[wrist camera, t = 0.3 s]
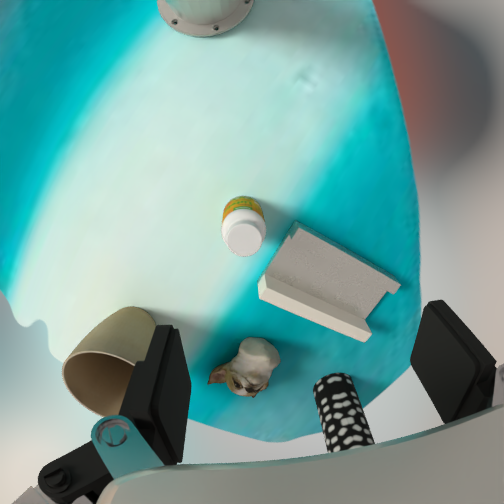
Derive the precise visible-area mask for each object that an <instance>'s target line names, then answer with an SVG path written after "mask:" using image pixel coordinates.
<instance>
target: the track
mask: <svg viewBox="0 0 504 504" xmlns="http://www.w3.org/2000/svg"><path fill="white" fill-rule="evenodd" d="M257 283H258V291H259V298H260V299H262V300H264V301H266V302H269V303H271V304H273V305H276V306H278V307H280V308H283V309H285V310H287V311H290V312H292V313H294V314H297V315H299V316H301V317H304V318H306V319H308V320H311V321H313V322H316V323H318V324H320V325H323V326H325V327H328V328H330V329H332V330H335V331H337V332H340V333H342V334H345V335H347V336H350V337H352V338H354V339H357V340H359V341H362V342H364V343H365V342H366V340H367V339H368V338H369V337H370V336H371V335H372V333H371V331H370V329H369V327H368V325H367V323H366V322H365V318H366V317H367V316H368V315H369V313H370V312H371V311H372V310H373V308H374V307H375V306H376V305H377V303H378V302H379V301H380V299H381V298H382V297H383V295H384V294H385V293H386V291H388V292H390V293H392V294H394V293H395V292H396V291H397V289H398V288H399V287H400V285H401V284H400V283H399V282H398V280H397V279H396V278H395V277H394V276H393V275H392V274H390V273H388V272H387V271H385V270H383V269H381V268H380V267H378V266H376V265H375V264H373V263H371V262H369V261H368V260H366V259H364V258H362V257H361V256H359V255H357V254H355V253H354V252H352V251H350V250H348V249H347V248H345V247H343V246H341V245H340V244H338V243H336V242H334V241H332V240H331V239H329V238H327V237H325V236H323V235H322V234H320V233H318V232H316V231H314V230H313V229H311V228H309V227H307V226H305V225H303V224H302V223H300V222H298V221H296V220H295V221H294V223H293V225H292V226H291V228H290V229H289V231H288V233H287V234H286V236H285V237H284V239H283V241H282V242H281V244H280V245H279V247H278V249H277V250H276V252H275V253H274V255H273V257H272V258H271V260H270V261H269V263H268V265H267V266H266V268H265V269H264V271H263V272H262V274H261V276H260V277H259V279H258V280H257Z"/></svg>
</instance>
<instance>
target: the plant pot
mask: <svg viewBox="0 0 504 504" xmlns="http://www.w3.org/2000/svg"><path fill="white" fill-rule="evenodd" d="M155 327H156V325H155V322H154V320H153V318H152V317H151V316H150V315H149V314H148V313H147V312H146V311H144V310H142V309H140V308H137V307H125V308H122V309H120V310H118V311H117V312H115V313H114V314H112V315H110V316H109V317H108V318H106V319H105V320H104V321H102V322H101V323H100V324H99V325H97V326H96V327H95V328H94V329H93V330H92V331H91V332H90V333H89V334H88V335H87V336H86V337H85V338H84V339H83V340H82V341H81V342H80V343H79V344H78V346H77V347H76V348H75V349H74V350H73V352H72V353H71V354H70V355H69V357H68V358H67V359H66V360H65V362H64V364H63V367H62V376H63V381H64V383H65V385H66V387H67V389H68V390H69V392H70V393H71V394H72V396H73V397H74V398H75V399H76V400H77V401H78V402H79V403H80V404H82V405H83V406H84V407H86V408H87V409H88V410H90V411H92V412H93V413H95V414H97V415H100V416H102V417H107V416H110V415H118V414H119V411H120V408H121V405H122V401H123V398H124V395H125V392H126V389H127V386H128V383H129V381H130V378H131V375H132V372H133V369H134V366H135V364H136V362H137V361H144V360H145V357H146V354H147V351H148V348H149V345H150V342H151V339H152V336H153V333H154V330H155Z"/></svg>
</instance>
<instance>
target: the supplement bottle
mask: <svg viewBox="0 0 504 504" xmlns="http://www.w3.org/2000/svg"><path fill="white" fill-rule="evenodd" d="M221 233H222V238H223V240H224V242H225V243H226V244H227V245H228V247H229V249H230V250H231V251H232V252H233V253H234V254H236V255H238V256H243V257H244V256H250V255H253V254H255V253H256V252H257V251H258V250H259V249H260V247H261V244H262V242H263V241H264V239H265V236H266V225H265V221H264V217H263V212H262V209H261V206H260V205H259V203H258V202H257V201H256V200H255V199H253V198H251V197H249V196H237V197H235V198H233V199H231V200H230V201H229V202H228V203H227V204H226V206H225V208H224V212H223V220H222V228H221Z"/></svg>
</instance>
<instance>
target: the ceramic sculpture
mask: <svg viewBox="0 0 504 504" xmlns="http://www.w3.org/2000/svg"><path fill="white" fill-rule="evenodd" d="M280 362H281V360H280V357H279V353H278V351H277V349H276V348H275V347H274V346H273V345H272V344H270V343H269V342H267V341H266V340H265V339H263V338H253V337H249V338H246V339H245V340H243V341H242V343H241V345H240V347H239V353H238V354H237V356H236V357H234V358H233V360H232V361H231V362H228V363H225V364H222V365H219V366H217V367H216V368H214V369H213V370H212V372H211V374H210V376H209V381H208V384H212V383H224V382H227V385H228V387H229V389H230V390H231V391H232V392H234V393H235V394H238V395H240V396H252V397H253V398H254V397H255V396H256V394H257V393H258V392H259V391H262V390H263V389H266V387H267V386H268V380H269V378H270V376H271V373H272V371H273V369H274V368H275V367H277V365H278V364H279V363H280Z"/></svg>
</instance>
